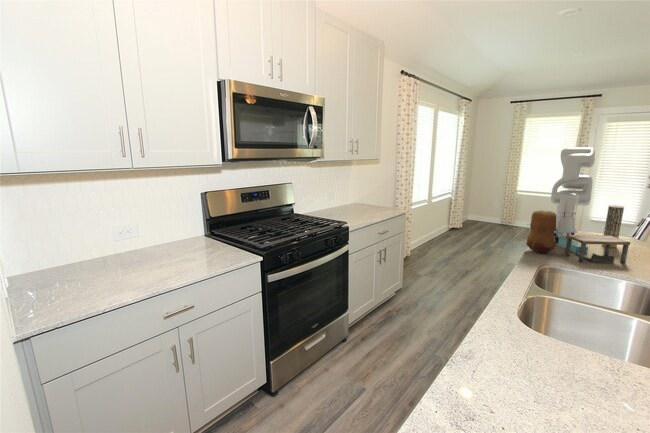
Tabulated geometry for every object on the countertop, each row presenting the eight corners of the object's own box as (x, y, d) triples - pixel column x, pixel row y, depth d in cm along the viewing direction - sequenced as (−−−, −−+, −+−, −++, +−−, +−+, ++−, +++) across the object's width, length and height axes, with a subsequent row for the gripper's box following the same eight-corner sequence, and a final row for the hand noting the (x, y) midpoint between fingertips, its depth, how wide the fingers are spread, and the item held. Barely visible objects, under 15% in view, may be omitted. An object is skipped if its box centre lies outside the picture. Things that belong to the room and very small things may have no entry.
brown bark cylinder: (619, 248, 186) (627, 206, 181) (608, 248, 186) (615, 206, 181) (609, 244, 192) (617, 205, 188) (598, 244, 193) (605, 205, 188)
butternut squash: (545, 249, 184) (551, 207, 179) (559, 256, 171) (566, 212, 166) (520, 248, 186) (525, 207, 181) (533, 255, 173) (539, 211, 168)
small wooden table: (564, 254, 175) (567, 234, 172) (606, 255, 172) (610, 235, 170) (580, 262, 162) (583, 241, 160) (626, 263, 160) (630, 242, 157)
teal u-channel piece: (552, 242, 198) (553, 236, 197) (562, 242, 197) (563, 236, 197) (575, 253, 177) (576, 246, 176) (587, 253, 176) (588, 246, 175)
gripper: (576, 213, 193) (572, 241, 196) (547, 213, 195) (543, 240, 198) (585, 215, 186) (580, 244, 189) (554, 215, 187) (550, 244, 191)
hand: (561, 242), depth 194 cm, fingers closed on teal u-channel piece, 6 cm apart
